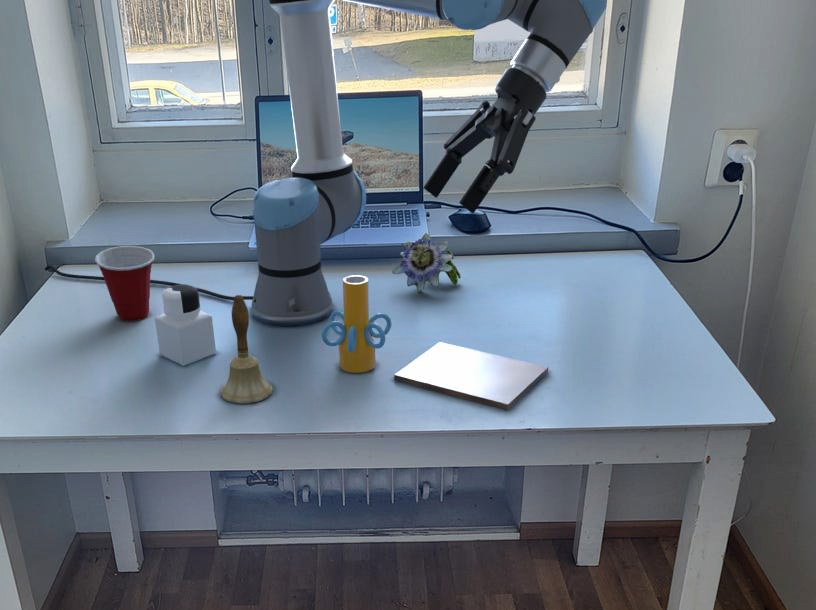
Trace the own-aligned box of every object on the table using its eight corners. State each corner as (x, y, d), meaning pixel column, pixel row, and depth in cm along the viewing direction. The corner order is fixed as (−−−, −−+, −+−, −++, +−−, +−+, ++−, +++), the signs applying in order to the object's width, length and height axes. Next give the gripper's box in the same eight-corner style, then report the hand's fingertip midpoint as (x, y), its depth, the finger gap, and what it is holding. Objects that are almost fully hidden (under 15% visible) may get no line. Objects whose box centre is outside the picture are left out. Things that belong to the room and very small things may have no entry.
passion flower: (420, 316, 184) (385, 272, 178) (422, 287, 192) (389, 244, 186) (468, 288, 178) (433, 242, 172) (468, 260, 186) (435, 215, 180)
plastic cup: (123, 332, 168) (113, 269, 162) (95, 316, 175) (83, 255, 169) (173, 315, 174) (165, 254, 168) (144, 301, 181) (135, 241, 175)
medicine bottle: (192, 342, 163) (184, 277, 157) (217, 353, 159) (209, 287, 152) (159, 355, 159) (149, 289, 153) (183, 367, 155) (174, 299, 148)
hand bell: (224, 381, 150) (214, 287, 141) (275, 380, 149) (267, 286, 141) (217, 404, 143) (206, 308, 134) (270, 403, 142) (262, 306, 134)
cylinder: (382, 384, 147) (382, 295, 139) (319, 380, 149) (315, 292, 140) (394, 352, 157) (394, 267, 149) (334, 349, 159) (331, 265, 151)
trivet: (394, 380, 148) (394, 374, 147) (439, 347, 158) (439, 341, 157) (507, 410, 138) (508, 404, 137) (548, 372, 148) (548, 367, 148)
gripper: (588, 102, 131) (500, 229, 136) (506, 89, 152) (432, 199, 157) (554, 69, 128) (465, 201, 132) (475, 60, 149) (400, 174, 153)
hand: (447, 200), depth 144 cm, fingers open, 13 cm apart
